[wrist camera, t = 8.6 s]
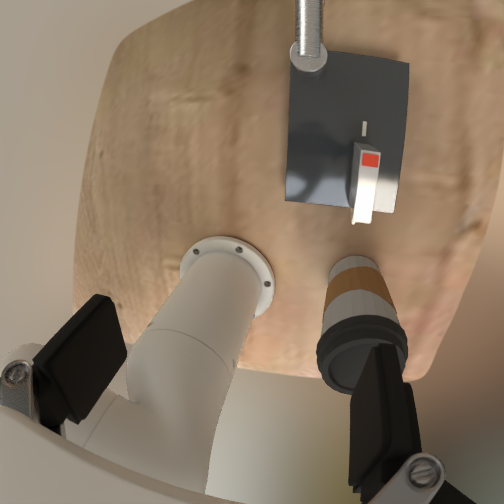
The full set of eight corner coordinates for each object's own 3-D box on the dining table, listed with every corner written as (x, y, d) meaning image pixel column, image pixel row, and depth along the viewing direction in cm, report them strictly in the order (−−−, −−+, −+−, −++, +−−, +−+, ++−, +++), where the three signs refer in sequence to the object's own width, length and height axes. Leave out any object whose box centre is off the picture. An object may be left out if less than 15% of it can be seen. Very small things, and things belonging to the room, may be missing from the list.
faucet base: (384, 216, 32) (390, 229, 29) (287, 204, 34) (283, 216, 31) (400, 67, 25) (409, 63, 21) (294, 54, 27) (290, 48, 23)
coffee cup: (306, 278, 38) (294, 371, 25) (353, 231, 34) (368, 314, 21) (354, 315, 39) (358, 408, 26) (401, 274, 35) (429, 364, 22)
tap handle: (363, 205, 29) (371, 225, 24) (348, 203, 29) (352, 222, 25) (371, 144, 26) (381, 153, 21) (354, 142, 26) (361, 150, 22)
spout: (325, 82, 24) (327, 72, 16) (298, 80, 25) (288, 70, 17) (326, 17, 21) (327, -19, 13) (300, 15, 22) (289, -21, 14)
